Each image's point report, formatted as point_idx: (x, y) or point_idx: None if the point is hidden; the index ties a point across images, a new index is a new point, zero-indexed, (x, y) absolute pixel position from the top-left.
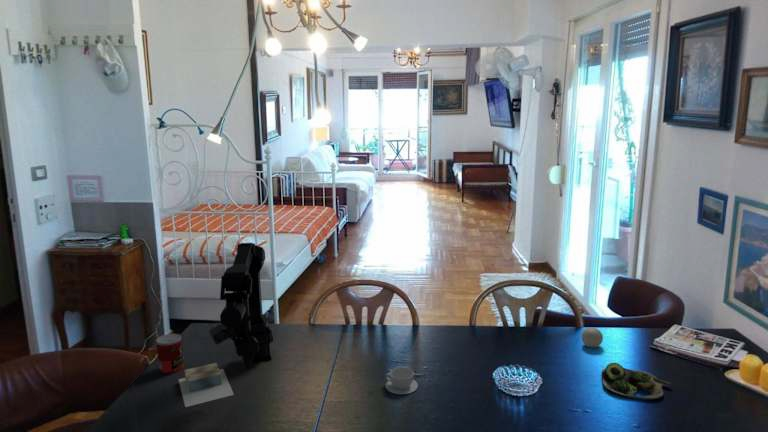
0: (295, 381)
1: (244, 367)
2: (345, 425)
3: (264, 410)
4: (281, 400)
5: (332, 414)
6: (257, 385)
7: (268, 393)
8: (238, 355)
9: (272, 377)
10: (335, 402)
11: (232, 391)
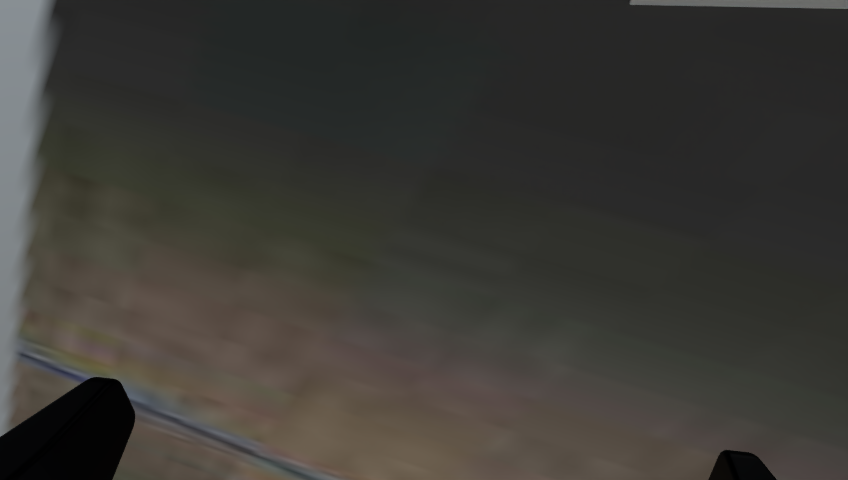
0: (534, 435)
1: (71, 407)
2: (7, 428)
3: (240, 175)
4: (334, 303)
5: None
6: (665, 241)
7: (476, 268)
8: (726, 473)
9: (706, 361)
10: (211, 473)
11: (714, 5)
